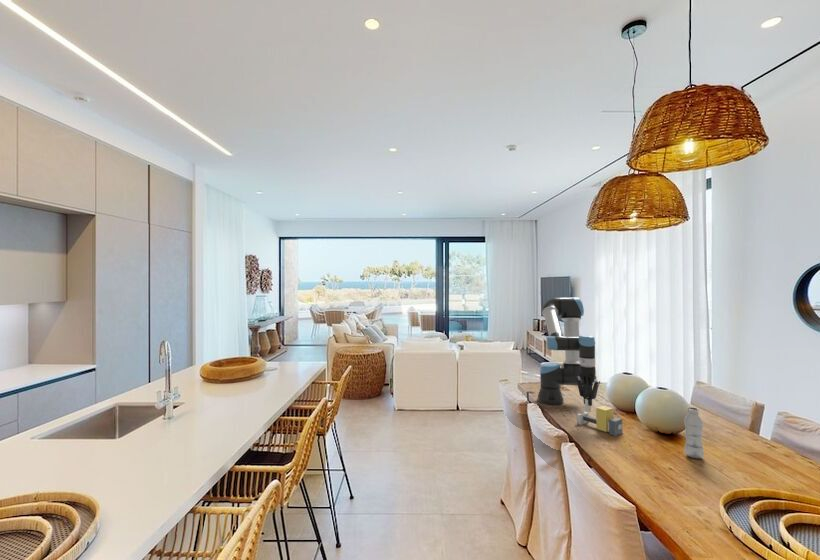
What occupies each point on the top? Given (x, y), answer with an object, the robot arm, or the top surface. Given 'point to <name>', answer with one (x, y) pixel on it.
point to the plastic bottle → (693, 434)
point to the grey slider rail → (613, 423)
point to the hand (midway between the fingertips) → (588, 411)
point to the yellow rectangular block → (603, 417)
